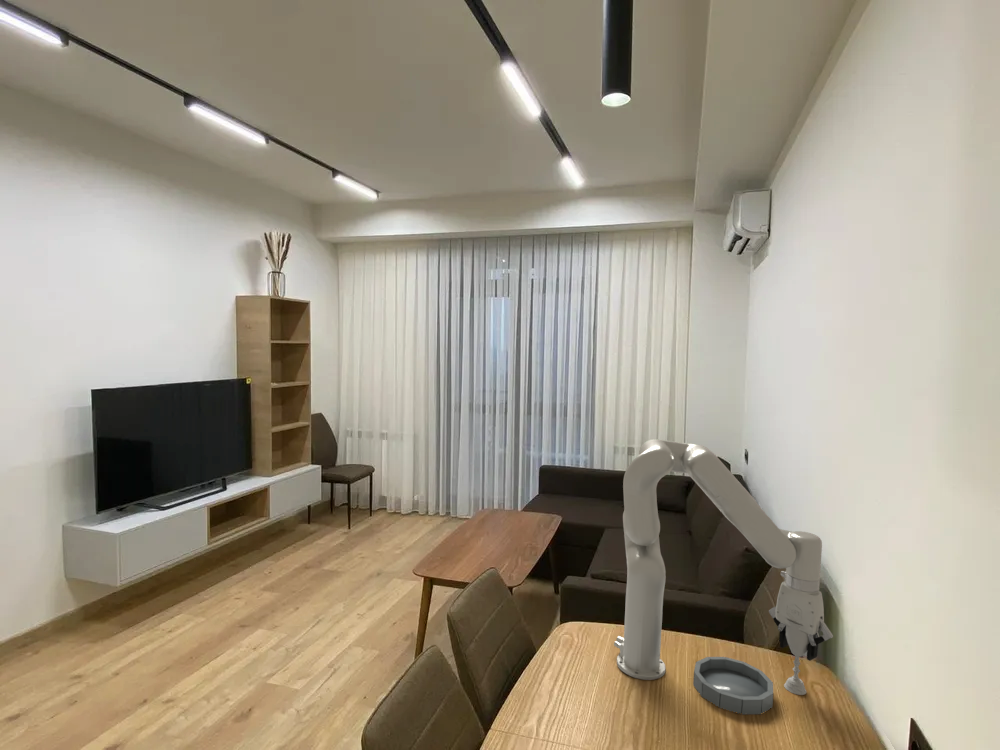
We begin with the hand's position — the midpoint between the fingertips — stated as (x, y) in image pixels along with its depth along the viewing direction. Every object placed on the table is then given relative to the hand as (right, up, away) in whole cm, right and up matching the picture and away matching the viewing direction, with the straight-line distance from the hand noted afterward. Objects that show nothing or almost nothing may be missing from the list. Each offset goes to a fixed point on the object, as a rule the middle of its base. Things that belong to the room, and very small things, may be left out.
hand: (797, 651), depth 138 cm
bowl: (-17, -9, -2) cm, 20 cm away
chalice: (0, -10, 0) cm, 10 cm away
